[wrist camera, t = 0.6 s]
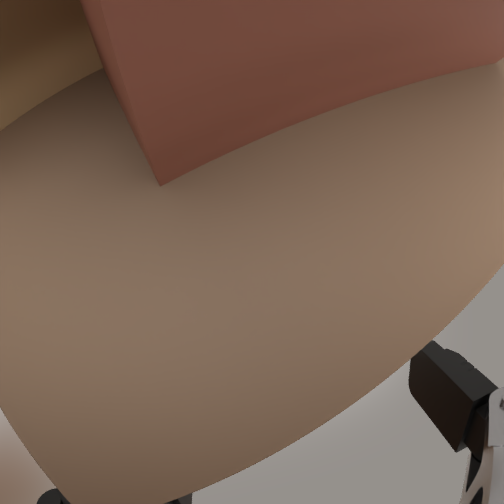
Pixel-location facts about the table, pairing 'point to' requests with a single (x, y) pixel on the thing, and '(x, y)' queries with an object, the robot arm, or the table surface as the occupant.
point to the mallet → (234, 61)
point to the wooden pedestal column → (231, 277)
